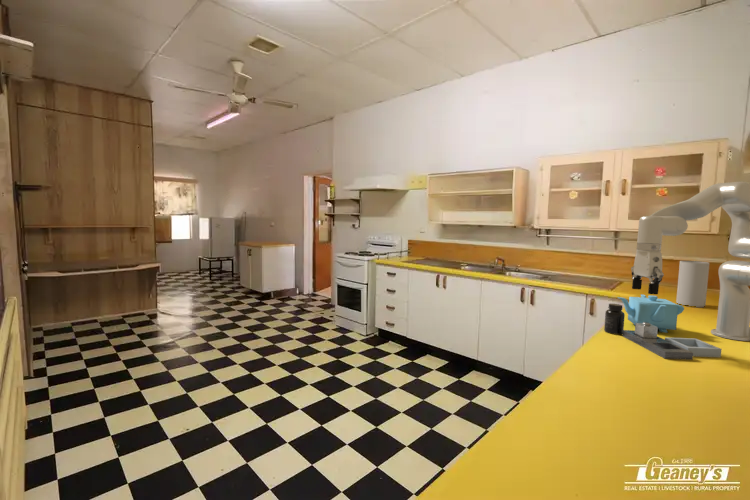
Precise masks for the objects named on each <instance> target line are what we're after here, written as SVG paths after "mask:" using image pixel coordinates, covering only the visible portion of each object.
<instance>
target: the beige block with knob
mask: <svg viewBox="0 0 750 500" xmlns="http://www.w3.org/2000/svg"><path fill="white" fill-rule="evenodd" d="M634 331H635V335H636V336H639V337H641V338H644V339H657V336H658V332H659V328H658V327H656V326H654V325H651V324H650V323H648V322H643V323H635V325H634Z"/></svg>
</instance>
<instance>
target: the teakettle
mask: <svg viewBox="0 0 750 500" xmlns="http://www.w3.org/2000/svg"><path fill="white" fill-rule="evenodd" d="M617 299H619V300H620V301H622V303H623V306H624V309H625V312H626V314H627V320H628V321H629V322H631V323H632V324H633V325H634V326H635V323H643V322H648V323H650V324H651V325H654V326H656V327H658V332H660V333H665V334H667V333H669V332H668V330H675V331H676V330H677V326H678V325H677V324H678V322H677V321H678V316H679V315H680V314H682V313H683V312H684V310H685V307H684V306H683V305H679V304H677V303H675V302H673V301H670V300H668V299H665V298H659V297H658V296H657V295H653V294H649V295H648V296H647V295H645V294H640V297H639V296H629V299H627V298H625V297H621V296H620V297H619V296H617Z"/></svg>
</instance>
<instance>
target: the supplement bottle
mask: <svg viewBox="0 0 750 500" xmlns="http://www.w3.org/2000/svg"><path fill="white" fill-rule="evenodd" d="M607 308H608V309H607V310H605V315H604V324H603V325H604V326H603V327H604V328H603V330H604V332H605V333H609V334H612V335H622V330H625V329H624V327H625V318H626V317H625V316H626V315H625V313H624V311H623V304H620V303H608V307H607Z"/></svg>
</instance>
